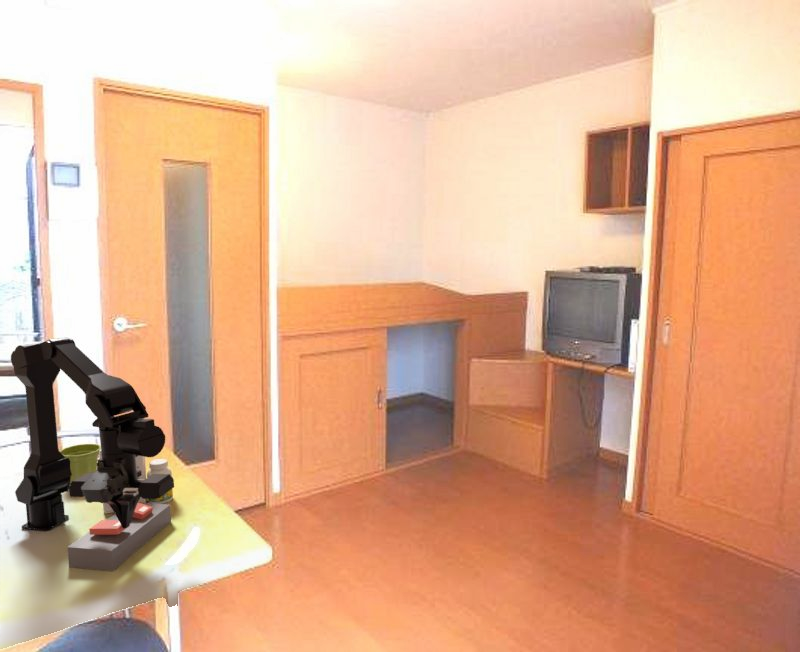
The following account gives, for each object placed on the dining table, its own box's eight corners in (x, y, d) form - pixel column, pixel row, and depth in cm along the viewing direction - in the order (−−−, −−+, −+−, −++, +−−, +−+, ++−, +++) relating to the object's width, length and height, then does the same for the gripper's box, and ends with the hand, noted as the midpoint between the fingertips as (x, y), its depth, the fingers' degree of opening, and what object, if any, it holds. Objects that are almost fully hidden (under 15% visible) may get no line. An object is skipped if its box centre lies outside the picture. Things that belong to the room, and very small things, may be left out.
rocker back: (115, 511, 120) (116, 506, 120) (126, 504, 123) (127, 499, 123) (142, 519, 119) (142, 514, 119) (152, 512, 123) (152, 506, 122)
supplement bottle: (175, 494, 141) (173, 457, 140) (169, 504, 136) (167, 465, 135) (152, 496, 140) (150, 458, 139) (145, 505, 135) (143, 466, 134)
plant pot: (63, 478, 151) (60, 446, 150) (103, 472, 155) (101, 441, 154) (59, 491, 143) (56, 457, 142) (102, 485, 147) (100, 452, 146)
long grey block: (69, 567, 109) (67, 547, 108) (144, 510, 132) (143, 494, 132) (112, 571, 107) (111, 550, 107) (180, 513, 131) (179, 496, 130)
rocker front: (90, 534, 112) (89, 528, 112) (102, 525, 116) (101, 519, 116) (118, 534, 111) (117, 528, 111) (129, 525, 115) (128, 519, 115)
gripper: (42, 464, 104) (52, 546, 106) (137, 465, 102) (146, 550, 103) (85, 444, 115) (93, 518, 117) (172, 445, 112) (179, 521, 114)
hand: (126, 527), depth 113 cm, fingers closed
